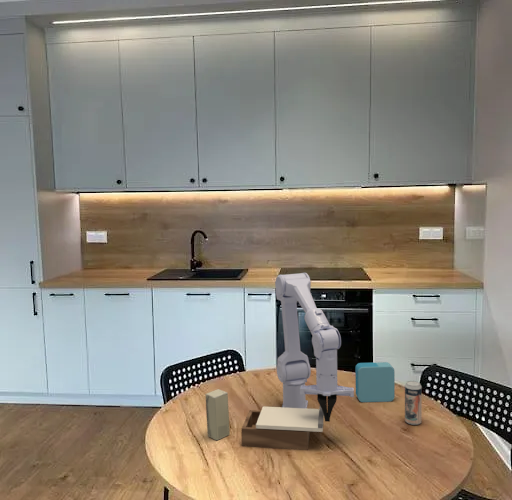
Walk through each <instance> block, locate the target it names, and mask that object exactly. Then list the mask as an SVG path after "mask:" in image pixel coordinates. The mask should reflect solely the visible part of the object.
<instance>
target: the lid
mask: <svg viewBox="0 0 512 500" xmlns="http://www.w3.org/2000/svg"><path fill="white" fill-rule="evenodd" d="M260 411H261V413H260V415H259V418H258V421H257V423H256V428H258V429H277V430H295V431H310V432H315V433H317V432H318V433H319V432H320V433H323V431H324V422H325V418H324V414H323V411H322V408H321V406H320V405H319V408H308V407H307V408H285V407H282V406H281V407H280V406H262V408H261V410H260Z"/></svg>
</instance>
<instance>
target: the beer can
mask: <svg viewBox="0 0 512 500" xmlns="http://www.w3.org/2000/svg"><path fill="white" fill-rule="evenodd" d="M422 388H423V387H422V385H421V383H420V382H418V381H415V380H409V381H406V383H405V385H404V421H405V423H406V424H409V425H411V426H418V425H420V424H422V423H423V422H422V401H423V400H422V397H423V396H422V395H423V394H422V390H423V389H422Z"/></svg>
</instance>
